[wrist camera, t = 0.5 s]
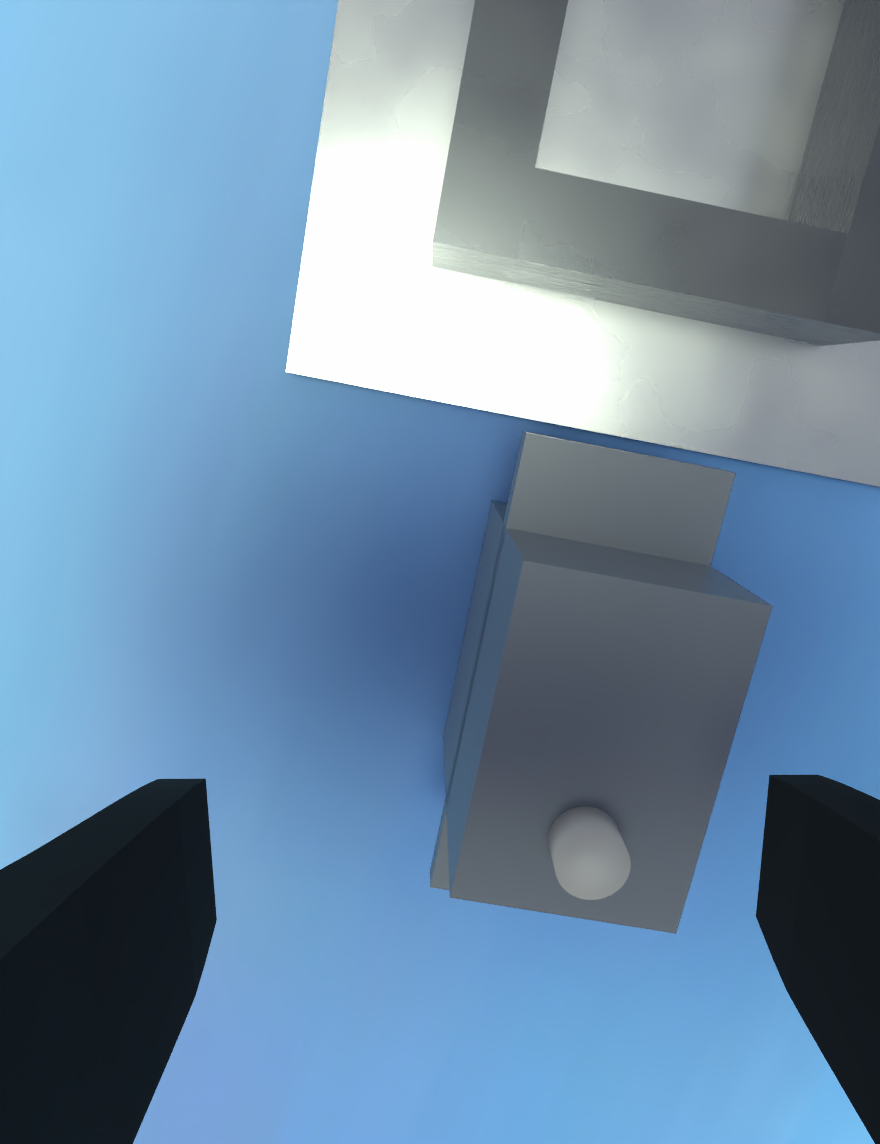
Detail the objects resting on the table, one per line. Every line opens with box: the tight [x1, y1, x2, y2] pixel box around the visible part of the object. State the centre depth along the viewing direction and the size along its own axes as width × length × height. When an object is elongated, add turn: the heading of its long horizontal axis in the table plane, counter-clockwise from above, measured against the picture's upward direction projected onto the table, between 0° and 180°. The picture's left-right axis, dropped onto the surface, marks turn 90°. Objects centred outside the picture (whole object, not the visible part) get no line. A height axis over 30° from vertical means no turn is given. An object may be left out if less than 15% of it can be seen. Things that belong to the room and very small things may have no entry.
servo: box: [430, 431, 772, 933], centre depth 16 cm, size 4×10×7 cm, turn 169°
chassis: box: [286, 0, 880, 487], centre depth 15 cm, size 14×16×4 cm
